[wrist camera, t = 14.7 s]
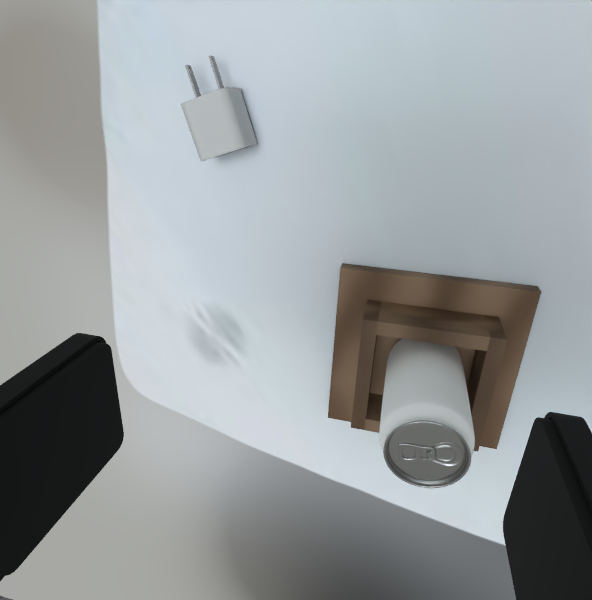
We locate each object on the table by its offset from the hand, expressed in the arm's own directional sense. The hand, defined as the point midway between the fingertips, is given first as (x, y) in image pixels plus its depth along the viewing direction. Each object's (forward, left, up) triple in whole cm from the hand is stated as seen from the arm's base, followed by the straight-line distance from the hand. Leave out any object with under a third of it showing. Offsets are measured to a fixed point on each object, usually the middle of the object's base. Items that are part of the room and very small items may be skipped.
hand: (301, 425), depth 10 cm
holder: (-5, +15, -30) cm, 34 cm away
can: (-5, +15, -29) cm, 33 cm away
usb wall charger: (+14, -5, -31) cm, 34 cm away
